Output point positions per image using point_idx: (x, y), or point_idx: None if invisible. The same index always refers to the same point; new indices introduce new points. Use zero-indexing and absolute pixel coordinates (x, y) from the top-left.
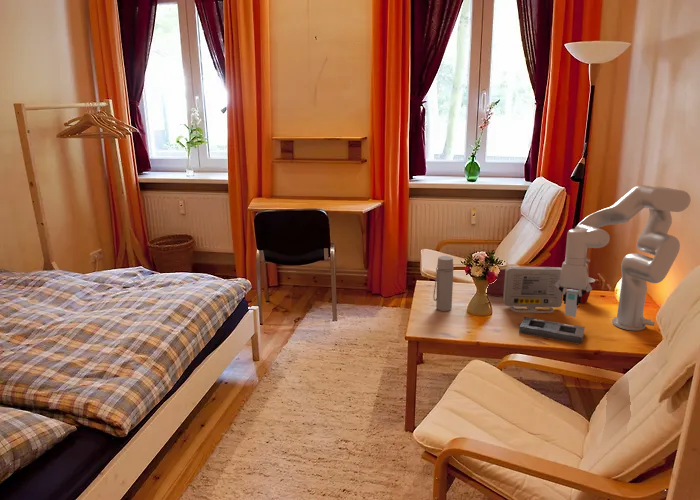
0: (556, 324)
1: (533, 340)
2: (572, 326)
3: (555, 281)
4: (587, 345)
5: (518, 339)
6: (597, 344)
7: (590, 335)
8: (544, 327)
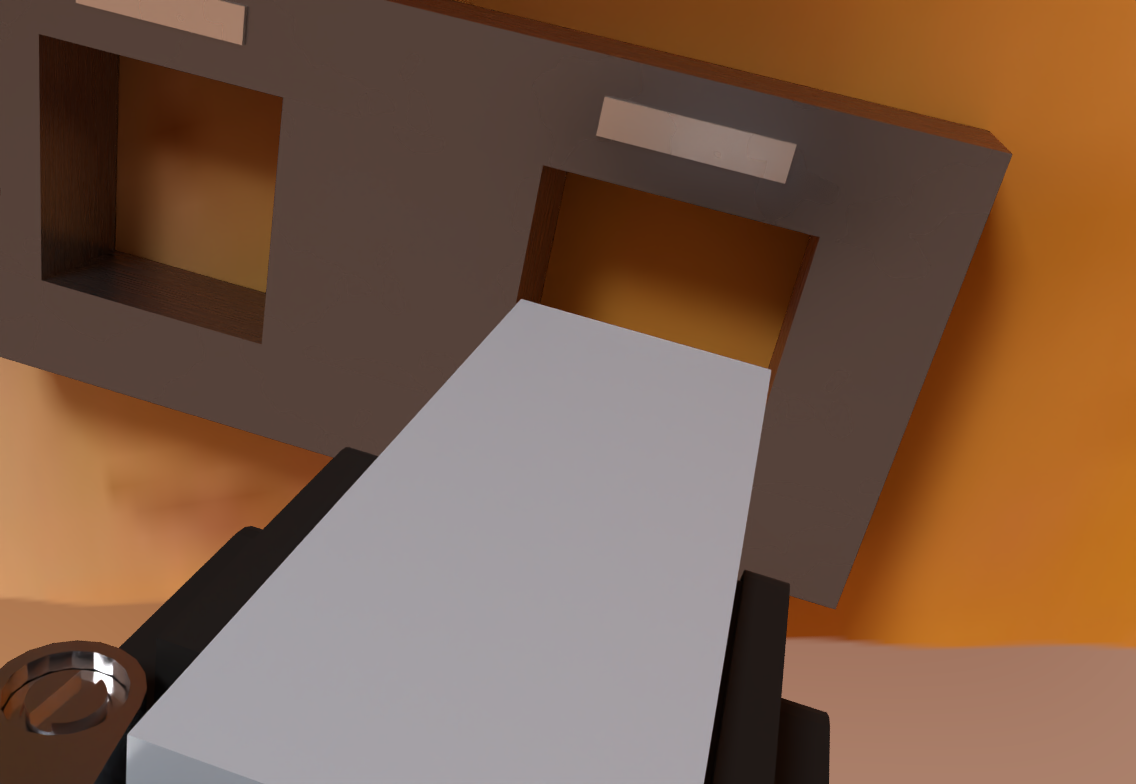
0: (469, 139)
1: (218, 504)
2: (759, 175)
3: None
4: (920, 560)
5: (54, 502)
6: (1097, 510)
7: (1097, 175)
8: (277, 320)
